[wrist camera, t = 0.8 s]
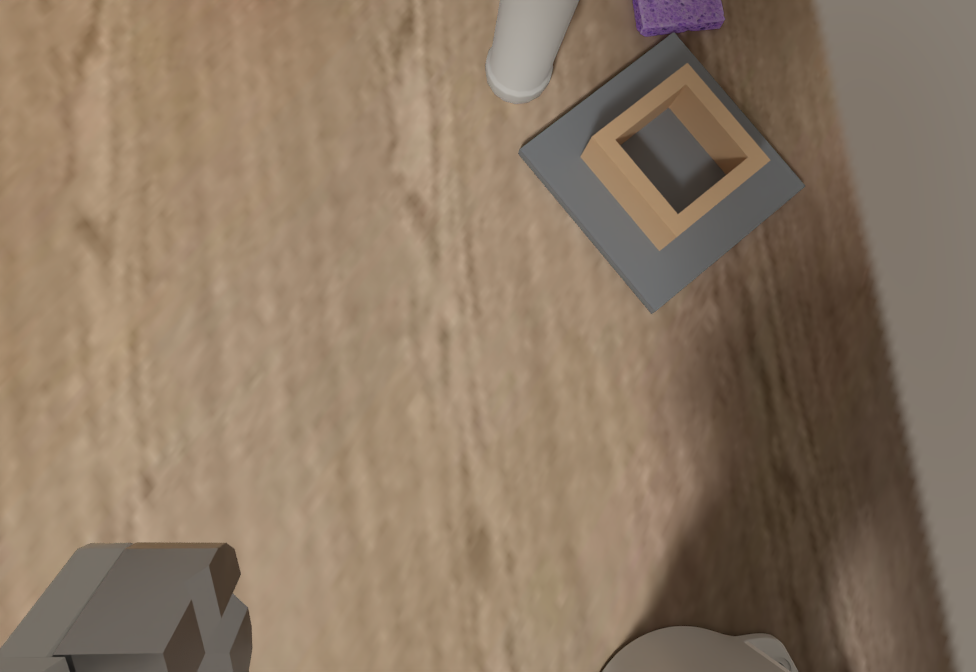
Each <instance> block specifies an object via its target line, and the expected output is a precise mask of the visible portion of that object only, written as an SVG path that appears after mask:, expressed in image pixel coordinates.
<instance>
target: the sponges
mask: <svg viewBox="0 0 976 672" xmlns="http://www.w3.org/2000/svg"><path fill="white" fill-rule="evenodd" d="M633 6H634V13H635V20H636V27H637V30H638V31H639V32H640V34H642V35H643V36H646V37H647V36H655V35H664V34H672V33H673V32H674V33H680V32H685V31H687V30H690V31H699V30H710V29H719V28H720V27H721V26H722V24H723V22H724V20H725V18H724V16H723V15H724V11H723V6H722V1H721V0H633Z"/></svg>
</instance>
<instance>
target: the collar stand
mask: <svg viewBox="0 0 976 672" xmlns="http://www.w3.org/2000/svg"><path fill="white" fill-rule="evenodd" d="M518 154H519V155H520V157H521V158H522V159H523V160H524V161H525V163H526V164H527V165H528V166H529V167H530V169H531V170H532V171H533V172H534V173H535V175H536V176H537V177H538V178H539V179H540V181H541V182H542V183H543V184H544V185H545V187H546V188H547V189H548V190H549V191H550V193H551V194H552V195H553V196H554V197H555V199H556V200H557V201H558V202H559V203H560V205H561V206H562V207H563V208H564V209H565V211H566V212H567V213H568V214H569V215H570V217H571V218H572V219H573V220H574V221H575V223H576V224H577V225H578V226H579V227H580V229H581V230H582V231H583V232H584V233H585V235H586V236H587V237H588V238H589V239H590V241H591V242H592V243H593V244H594V245H595V247H596V248H597V249H598V250H599V251H600V253H601V254H602V255H603V256H604V257H605V259H606V260H607V261H608V262H609V263H610V265H611V266H612V267H613V268H614V269H615V271H616V272H617V273H618V274H619V275H620V277H621V278H622V279H623V280H624V281H625V283H626V284H627V285H628V286H629V287H630V289H631V290H632V291H633V292H634V293H635V295H636V296H637V297H638V298H639V299H640V301H641V302H642V303H643V304H644V305H645V307H646V308H647V309H648V310H649V311H650V313H651V314H652V313H654V312H655V311H657V310H658V309H659V308H660V307H661V306H663V305H664V304H665V303H666V302H667V301H669V300H670V299H671V298H672V297H673V296H675V295H676V294H677V293H678V292H679V291H681V290H682V289H683V288H684V287H685V286H687V285H688V284H689V283H690V282H691V281H693V280H694V279H695V278H696V277H697V276H699V275H700V274H701V273H702V272H703V271H705V270H706V269H707V268H708V267H709V266H711V265H712V264H713V263H714V262H715V261H717V260H718V259H719V258H720V257H721V256H722V255H724V254H725V253H726V252H727V251H728V250H730V249H731V248H732V247H733V246H734V245H736V244H737V243H738V242H739V241H740V240H742V239H743V238H744V237H745V236H746V235H748V234H749V233H750V232H751V231H752V230H754V229H755V228H756V227H757V226H758V225H760V224H761V223H762V222H763V221H764V220H766V219H767V218H768V217H769V216H770V215H772V214H773V213H774V212H775V211H776V210H778V209H779V208H780V207H781V206H782V205H784V204H785V203H786V202H787V201H788V200H790V199H791V198H792V197H793V196H794V195H796V194H797V193H798V192H799V191H800V190H802V189H803V188H804V187H805V185H804V184H803V183H802V181H801V180H800V179H799V178H798V177H797V176H796V174H795V173H794V172H793V171H792V170H791V169H790V167H789V166H788V165H787V164H786V163H785V162H784V160H783V159H782V158H781V157H780V156H779V154H778V153H777V152H776V151H775V150H774V149H773V147H772V146H771V145H770V144H769V143H768V142H767V140H766V139H765V138H764V137H763V136H762V135H761V133H760V132H759V131H758V130H757V129H756V128H755V126H754V125H753V124H752V123H751V122H750V121H749V119H748V118H747V117H746V116H745V115H744V114H743V112H742V111H741V110H740V109H739V108H738V107H737V105H736V104H735V103H734V102H733V101H732V99H731V98H730V97H729V96H728V95H727V94H726V92H725V91H724V90H723V89H722V88H721V87H720V85H719V84H718V83H717V82H716V81H715V80H714V78H713V77H712V76H711V75H710V74H709V73H708V71H707V70H706V69H705V68H704V67H703V66H702V64H701V63H700V62H699V61H698V60H697V59H696V57H695V56H694V55H693V54H692V53H691V52H690V50H689V49H688V48H687V47H686V46H685V44H684V43H683V42H682V41H681V40H680V39H679V37H678V36H677V35H676V34H675V33H674V32H673V33H672V34H670V35H669V36H668V37H666V38H665V39H664V40H663V41H661V42H660V43H659V44H657V45H656V46H655V47H653V48H652V49H651V50H649V51H648V52H647V53H645V54H644V55H643V56H642V57H640V58H639V59H638V60H636V61H635V62H634V63H632V64H631V65H630V66H628V67H627V68H626V69H624V70H623V71H622V72H620V73H619V74H618V75H617V76H615V77H614V78H613V79H611V80H610V81H609V82H607V83H606V84H605V85H603V86H602V87H601V88H599V89H598V90H597V91H595V92H594V93H593V94H592V95H590V96H589V97H588V98H586V99H585V100H584V101H582V102H581V103H580V104H578V105H577V106H576V107H574V108H573V109H572V110H571V111H569V112H568V113H567V114H565V115H564V116H563V117H561V118H560V119H559V120H557V121H556V122H555V123H553V124H552V125H551V126H549V127H548V128H547V129H546V130H544V131H543V132H542V133H540V134H539V135H538V136H536V137H535V138H534V139H532V140H531V141H530V142H528V143H527V144H526V145H524V146H523V147H522V148H521V149H520V150H519V153H518Z"/></svg>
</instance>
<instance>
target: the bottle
mask: <svg viewBox="0 0 976 672" xmlns="http://www.w3.org/2000/svg"><path fill="white" fill-rule="evenodd" d="M578 2H579V0H500V3H499V9H498V15H497V21H496V27H495V33H494V39H493V45H492V47H491V48H490V49H489V52H488V56H487V60H486V64H485V70H486V76H487V82H488V84H489V86H490V87H491V89H492V91H493V92H494V94H495V95H497V96H498V97H499V98H501V99H502V100H504V101H506V102H510V103H514V104H520V103H528V102H529V101H531V100H533V99H535V98H537V97H538V96H540V94H541V93H542V92H543V90H544V89H545V88H546V87H547V85H548V84H549V81H550V78H551V74H552V70H553V62H554V60H555V57H556V55H557V52H558V50H559V48H560V45H561V43H562V40H563V38H564V36H565V33H566V31H567V28H568V26H569V24H570V21H571V19H572V16H573V14H574V12H575V9H576V7H577V4H578Z"/></svg>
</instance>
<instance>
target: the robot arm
mask: <svg viewBox="0 0 976 672" xmlns="http://www.w3.org/2000/svg"><path fill="white" fill-rule="evenodd" d="M240 575H241V572H240V568H239V564H238V561H237V557H236V553H235V549H234V548H233V547H231V546H230V545H229V544H227V543H140V542H137V543H135V544H132V543H90V544H88V545H85V546H83V547H81V548H79V549H77V550H76V551H75V553H74V554H73V555H72V556H71V558H70V559H69V560H68V562H67V563H66V564H65V566H64V567H63V568H62V569H61V571H60V572H59V573H58V575H57V576H56V577H55V578H54V580H53V581H52V582H51V584H50V585H49V586H48V588H47V589H46V590H45V591H44V593H43V594H42V595H41V597H40V598H39V599H38V600H37V602H36V603H35V604H34V606H33V607H32V608H31V610H30V611H29V612H28V613H27V615H26V616H25V617H24V619H23V620H22V621H21V623H20V624H19V625H18V626H17V628H16V629H15V630H14V632H13V633H12V634H11V635H10V637H9V638H8V639H7V641H6V642H5V643H4V645H3V646H2V647H1V648H0V672H249V666H250V660H251V653H252V626H251V621H250V616H249V610H248V607H247V606H246V605H245V604H244V603H242V602H241V601H240V600H239V599H238V598H237V597H236V596H235V595H234V594H233V591H234V589H235V587H236V584H237V582H238V580H239V578H240ZM778 662H779V663H778ZM602 672H798V670H797V668H796V666H795V664H794V662H793V661H792V659H791V657H790V655H789V653H788V652H787V650H786V648H785V646H784V645H783V644H782V643H781V642H780V641H779V640H778V639H777V638H775V637H774V636H772V635H770V634H765V633H757V634H748V635H741V636H729V635H724V634H721V633H718V632H715V631H711V630H708V629H704V628H699V627H691V626H675V627H667V628H662V629H658V630H655V631H652V632H649V633H647V634H645V635H643V636H641V637H639V638H637V639H635V640H634V641H632V642H631V643H629V644H628V645H626V646H625V647H624V648H623V649H622V650H620V651H619V652H618V653H617V654H616V655H615V656H614V657H613V658H612V659H611V661H610V662H609V663H608V664H607V666H606V667H605V668H604V670H603V671H602Z"/></svg>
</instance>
